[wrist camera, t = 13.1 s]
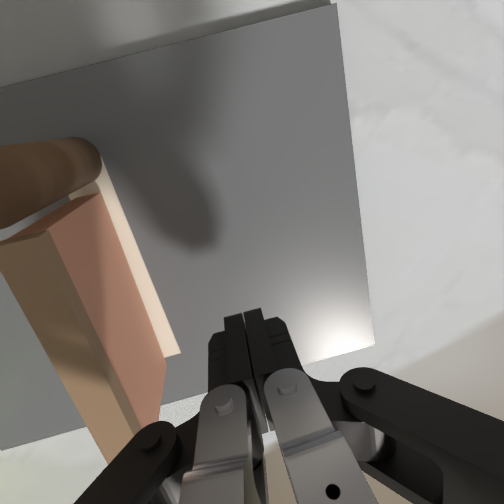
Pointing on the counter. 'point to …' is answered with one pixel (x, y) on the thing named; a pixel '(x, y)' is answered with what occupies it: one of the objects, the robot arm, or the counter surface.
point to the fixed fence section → (43, 174)
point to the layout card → (205, 200)
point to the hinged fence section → (89, 318)
